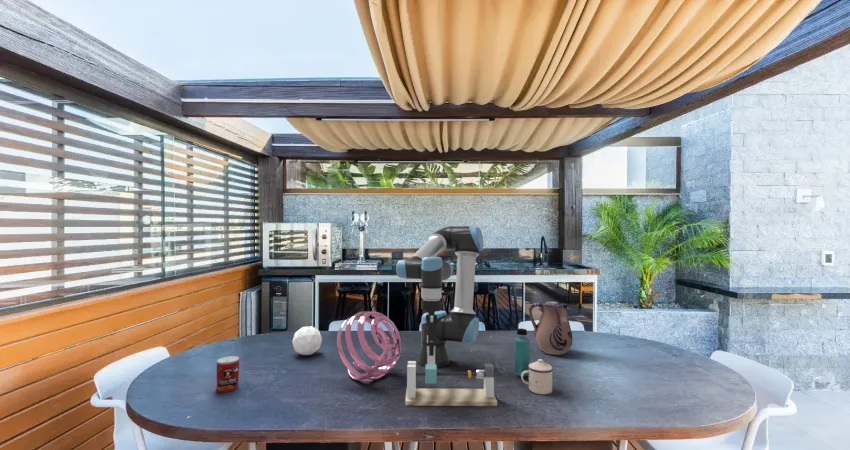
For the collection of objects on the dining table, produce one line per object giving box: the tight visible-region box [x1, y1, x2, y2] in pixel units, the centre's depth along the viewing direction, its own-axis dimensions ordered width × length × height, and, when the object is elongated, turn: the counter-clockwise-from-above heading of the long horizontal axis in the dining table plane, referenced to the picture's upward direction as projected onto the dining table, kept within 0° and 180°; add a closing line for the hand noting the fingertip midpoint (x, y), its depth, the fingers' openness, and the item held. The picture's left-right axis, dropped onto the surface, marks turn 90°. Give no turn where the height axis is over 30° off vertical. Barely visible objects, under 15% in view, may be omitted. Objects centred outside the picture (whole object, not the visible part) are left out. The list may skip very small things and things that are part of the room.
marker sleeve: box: [424, 364, 438, 384], centre depth 137 cm, size 4×5×5 cm
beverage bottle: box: [513, 328, 531, 377], centre depth 159 cm, size 6×7×20 cm
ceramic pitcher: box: [528, 301, 573, 356], centre depth 193 cm, size 18×21×25 cm
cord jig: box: [404, 360, 498, 407], centre depth 137 cm, size 32×11×12 cm, turn 90°
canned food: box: [215, 355, 240, 393], centre depth 145 cm, size 8×8×11 cm
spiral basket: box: [336, 311, 402, 382], centre depth 159 cm, size 28×28×27 cm
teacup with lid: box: [520, 358, 554, 395], centre depth 146 cm, size 12×9×12 cm
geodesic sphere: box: [291, 325, 323, 356], centre depth 188 cm, size 15×14×14 cm
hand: (430, 358), depth 137 cm, fingers open, 13 cm apart
